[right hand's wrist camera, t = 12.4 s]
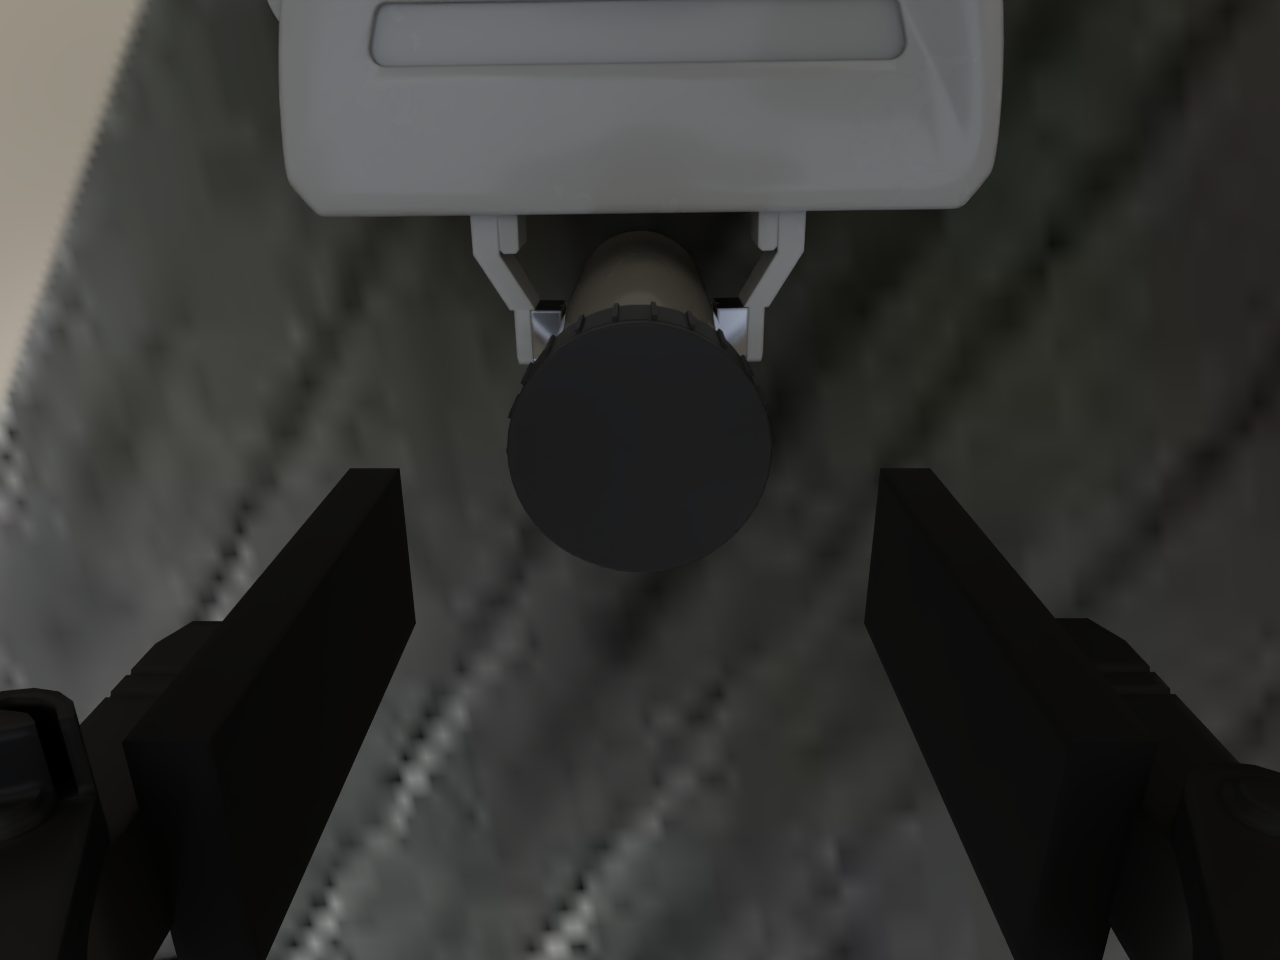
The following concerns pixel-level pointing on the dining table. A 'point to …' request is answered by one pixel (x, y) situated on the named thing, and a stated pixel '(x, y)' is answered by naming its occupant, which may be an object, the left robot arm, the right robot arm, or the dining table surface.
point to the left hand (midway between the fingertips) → (641, 359)
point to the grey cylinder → (639, 278)
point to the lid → (639, 439)
